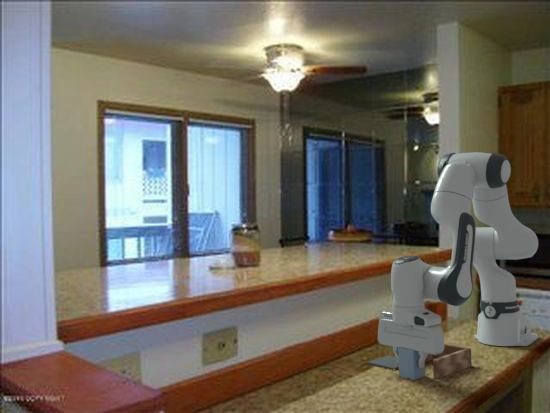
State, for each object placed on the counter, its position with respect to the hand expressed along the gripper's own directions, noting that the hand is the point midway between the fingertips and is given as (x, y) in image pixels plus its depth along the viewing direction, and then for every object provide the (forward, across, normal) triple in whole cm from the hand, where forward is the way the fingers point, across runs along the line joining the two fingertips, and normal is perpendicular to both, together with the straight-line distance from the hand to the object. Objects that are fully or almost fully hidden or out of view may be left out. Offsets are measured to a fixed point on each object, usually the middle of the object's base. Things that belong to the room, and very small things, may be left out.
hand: (410, 365), depth 157 cm
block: (+3, 0, 0) cm, 3 cm away
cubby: (+3, 0, +10) cm, 11 cm away
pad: (+3, -12, +6) cm, 14 cm away
